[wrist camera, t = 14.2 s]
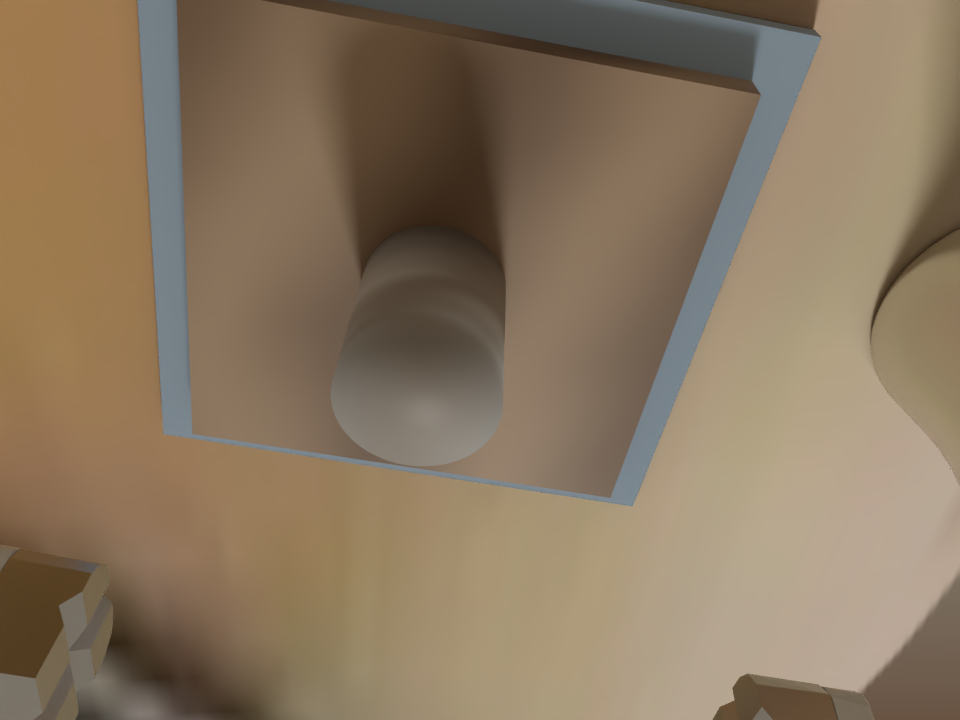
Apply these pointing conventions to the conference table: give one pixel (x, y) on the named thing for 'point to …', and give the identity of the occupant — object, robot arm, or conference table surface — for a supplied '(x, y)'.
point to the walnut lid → (438, 236)
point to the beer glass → (924, 345)
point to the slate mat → (540, 16)
